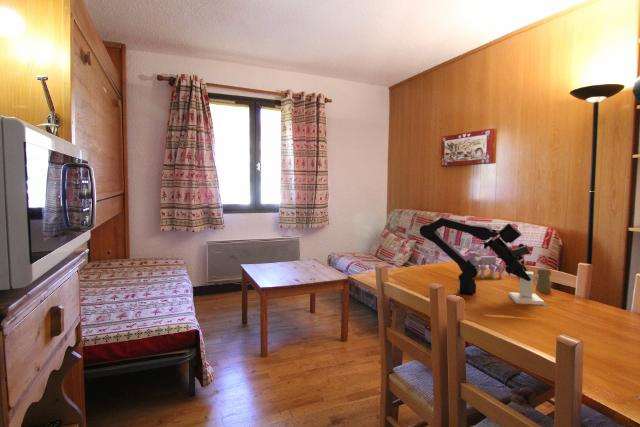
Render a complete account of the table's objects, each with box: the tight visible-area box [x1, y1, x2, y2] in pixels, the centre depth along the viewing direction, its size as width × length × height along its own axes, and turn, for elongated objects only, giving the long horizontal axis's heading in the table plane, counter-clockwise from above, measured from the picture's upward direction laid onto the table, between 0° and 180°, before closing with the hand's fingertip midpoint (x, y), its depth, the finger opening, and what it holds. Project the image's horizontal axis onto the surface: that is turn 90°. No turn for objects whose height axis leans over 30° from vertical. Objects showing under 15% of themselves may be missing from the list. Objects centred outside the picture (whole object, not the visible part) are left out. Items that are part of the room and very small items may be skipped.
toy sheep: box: [462, 251, 504, 279], centre depth 186 cm, size 20×11×14 cm, turn 94°
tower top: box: [508, 291, 545, 306], centre depth 146 cm, size 10×10×2 cm
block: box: [518, 271, 534, 297], centre depth 145 cm, size 4×4×10 cm
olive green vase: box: [535, 267, 552, 294], centre depth 158 cm, size 6×6×11 cm
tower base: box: [506, 294, 549, 307], centre depth 146 cm, size 12×12×2 cm
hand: (530, 279), depth 145 cm, fingers closed on block, 4 cm apart
